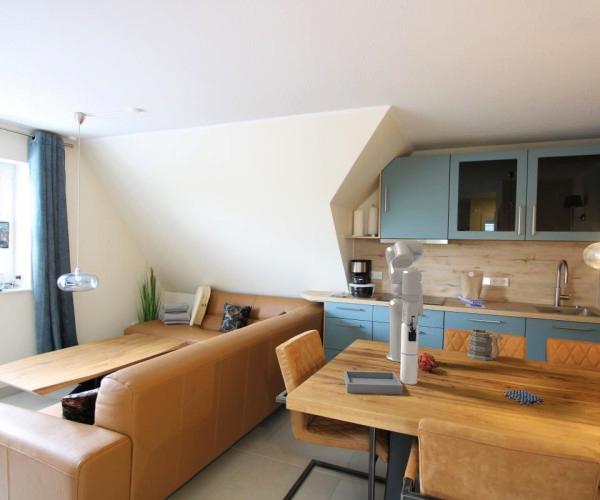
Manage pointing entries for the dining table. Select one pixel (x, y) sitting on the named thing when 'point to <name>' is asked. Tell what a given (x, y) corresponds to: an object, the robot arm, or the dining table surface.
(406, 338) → the cylindrical container
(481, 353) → the tankard
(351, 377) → the tray
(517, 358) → the dining table surface
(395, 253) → the robot arm
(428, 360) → the dragon fruit
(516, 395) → the woven mat
